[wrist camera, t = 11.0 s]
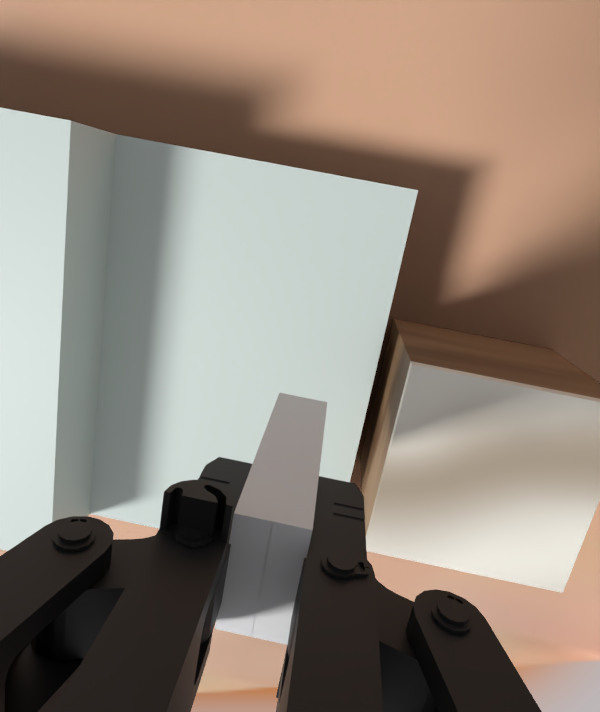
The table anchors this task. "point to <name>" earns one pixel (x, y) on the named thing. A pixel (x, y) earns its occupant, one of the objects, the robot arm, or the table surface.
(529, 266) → the table surface
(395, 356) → the cube
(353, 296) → the steps
